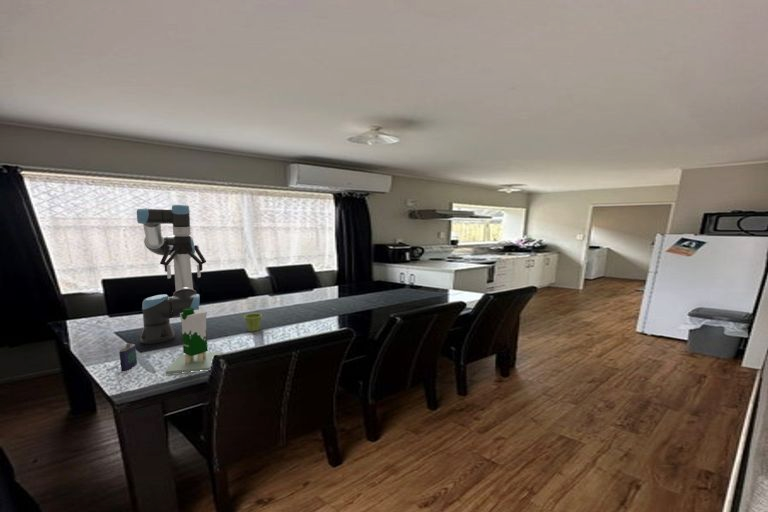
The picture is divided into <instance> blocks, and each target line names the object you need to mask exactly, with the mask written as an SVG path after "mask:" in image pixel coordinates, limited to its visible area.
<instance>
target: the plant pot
mask: <svg viewBox="0 0 768 512" xmlns="http://www.w3.org/2000/svg"><path fill="white" fill-rule="evenodd" d="M262 315H263V314H261V313H248V314H246V315H244V318H245V321H246V326H247V331H248V332H252V333H253V332H258V331H259V330H260V325H261V319H262V317H263V316H262Z"/></svg>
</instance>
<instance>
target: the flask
mask: <svg viewBox="0 0 768 512" xmlns="http://www.w3.org/2000/svg"><path fill="white" fill-rule="evenodd" d="M136 348H137V347H136V344H135V343H125V347H124V348H121V350H119V352H118V353H119V363H120V372H121V371H126V372H127V370H128V371H129V369H130V370H131V369H133V368H134V367H135V366H136V365H137V364H138V360H137V352H136V351H137V349H136ZM132 367H133V368H132Z"/></svg>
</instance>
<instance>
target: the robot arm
mask: <svg viewBox="0 0 768 512" xmlns="http://www.w3.org/2000/svg"><path fill="white" fill-rule="evenodd" d="M190 213H191V210H190V206H189V205H188V204H173V205H171V208H138V209H137V210H136V221H137V223H138V224H141V225H142V227H143V230H144V235H145V237H144V239H143V242H144V245H145V247H146V249H148V250H149V251H150V252H151V253H153V254H156V255H159V256H162V257H161V259H160V261H159V264H160V265H163V266H164V272H166V273H167V274H166V275H167V279H171V278H172V271H171V270H172V269H171V267H172V266H171V264H170V263H171V262H172V261H173V268H174V269H173V270H174V285H175V291H174V292H173V293H172V296H169V295H168V294H166V293H165V294H164V293H163V294H157V295H153V296H149V297H147V298H144V299H143V301H142V307H141V310H142V320H143V328H142V332H141V335H140V343H141V344H145V345H147V344H148V345H150V344H151V345H152V344H160V343H164V342H168V341H170V340H173V339H174V338H175V330H174V329H173V327H172V325H171V322H170V321H171V320H170V319H175V318H176V319H177V318H181V317H180V313H183V309H185V308H194V310H200V298H201V297H200V296H201V295H200V294H199V293H197V290H195V289H194V285H193V274H192V273H193V272H192V265H191V258H192V260H194V261H195V262H196V263H197V265H196V271H197V278H201V277H202V275H201V271H203V264H206V263H207V261H206V259H205V257H204V255H203V254H202V252H201V250H200V249H199V248H200V247H199V244H195V242H194V240H193V238H192V236H191V235H192V234H191V233H192V232H191V221H190V220H191V219H190V217H191V216H190V215H191V214H190ZM162 224H164V225H165V224H168V225H170V224H171V225H172V233H173V234H172V235H162ZM196 254H197V256H198V257H197V256H196ZM168 256H169V258H168ZM167 258H168V259H167Z"/></svg>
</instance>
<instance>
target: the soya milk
mask: <svg viewBox="0 0 768 512" xmlns="http://www.w3.org/2000/svg"><path fill="white" fill-rule="evenodd" d="M207 313H208V312H207V311H204V310H201V309H199V310H194V308H185V309H183V313H180V317H179V318H180V321H181V333H182V352H183V353H182V354H184V355H185V354H188V355H190V356H194V355H197V354H200V353H203V352H206V353H207V352H208V333H207V332H208V331H207Z"/></svg>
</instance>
